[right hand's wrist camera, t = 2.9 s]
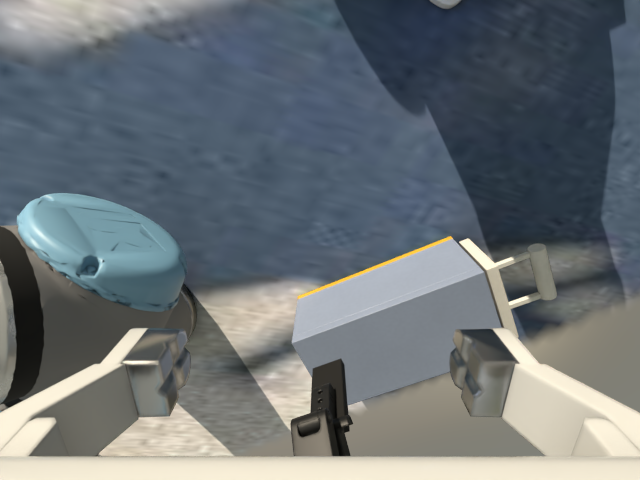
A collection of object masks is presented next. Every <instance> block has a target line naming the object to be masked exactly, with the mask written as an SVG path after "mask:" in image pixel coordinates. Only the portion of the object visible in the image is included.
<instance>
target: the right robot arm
mask: <svg viewBox="0 0 640 480" xmlns="http://www.w3.org/2000/svg"><path fill="white" fill-rule="evenodd" d="M429 1H431V2H432V3H433V4H435V5H437V6H438V7H440V8H443V9H450V8H452V7H454V6H455V5H457V4H458V3H459V2H460V1H462V0H429ZM187 341H188V340H187V335H186V331H185V330H184V329H169V328H133V329H130V330H129V331H128V332H127V334H126V335H125V336H124V337H123V338H122V339H121V340H120V342H119V343H118V344H117V345H116V346H115V347H114V348H113V350H112V351H111V352H110V353H109V354H108V355H107V357H106V358H105V359H104V360H103V361H102V362H101V363H100V364H94V365H92V366H90V367H88V368H86V369H84V370H82V371H80V372H78V373H76V374H74V375H72V376H70V377H68V378H66V379H64V380H62V381H61V382H59V383H57V384H55V385H53V386H51V387H49V388H47V389H45V390H43V391H41V392H39V393H37V394H35V395H33V396H31V397H29V398H28V399H26V400H24V401H22V402H20V403H18V404H16V405H14V406H12V407H10V408H8V409H6V410H4V411H2V412H0V480H640V413H639V412H637V411H636V410H634V409H632V408H630V407H628V406H626V405H624V404H622V403H620V402H618V401H616V400H614V399H612V398H610V397H608V396H607V395H605V394H603V393H601V392H599V391H597V390H595V389H593V388H591V387H589V386H587V385H585V384H583V383H581V382H579V381H577V380H576V379H574V378H572V377H570V376H568V375H566V374H564V373H562V372H560V371H558V370H556V369H554V368H552V367H550V366H548V365H546V364H540V363H539V362H538V361H537V360H536V359H535V358H534V356H533V355H532V354H531V353H530V352H529V351H528V350H527V348H526V347H525V346H524V345H523V344H522V343H521V342H520V340H519V339H518V338H517V337H516V336H515V335H514V334H513V332H512V331H511V330H510V329H507V328H489V329H456V330H455V332H454V335H453V340H452V341H453V343H454V344H455V346H456V348H455V349H454V350H453V351H452V352H451V353H450V360H449V366H450V373H451V377H452V380H453V382H454V384H455V385H456V386H457V387H458V388H460V389H461V390H462V395H461V398H462V400H463V402H464V404H465V406H466V408H467V410H468V412H469V414H470V416H478V417H502V420H504V421H505V422H506V423H507V424H508V425H509V426H511V427H512V428H513V429H514V430H515V431H516V432H518V433H519V434H520V435H521V436H522V437H523V438H525V439H526V440H527V441H528V442H529V443H530V444H532V445H533V446H534V447H535V448H536V449H538V450H539V451H540V452H541V453H542V454H543V455H544V456H96V455H97V454H98V453H99V452H100V451H102V450H103V449H104V448H105V447H106V446H107V445H109V444H110V443H111V442H112V441H113V440H114V439H116V438H117V437H118V436H119V435H120V434H121V433H123V432H124V431H125V430H126V429H127V428H128V427H130V426H131V425H132V424H133V423H134V422H135V421H137V420H138V417H163V416H170V414H171V412H172V410H173V408H174V406H175V404H176V402H177V400H178V398H179V395H178V390H179V389H180V388H182V387H183V386H184V385H185V384H186V382H187V380H188V377H189V373H190V368H191V358H190V353H189V352H188V351H187V350H186V349H185V348H184V346H185V344H186V343H187Z"/></svg>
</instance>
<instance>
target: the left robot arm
mask: <svg viewBox="0 0 640 480" xmlns="http://www.w3.org/2000/svg"><path fill="white" fill-rule="evenodd" d="M186 273H187V261H186V257H185V255H184V252H183V250H182V248H181V247H180V245H179V244H178V243H177V241H176V240H175V239H174V238H173V237H172V236H171V235H170V234H169V233H168V232H167V231H166V230H164V229H163V228H162V227H161V226H159V225H158V224H156V223H155V222H153V221H152V220H150V219H148V218H147V217H145V216H143V215H141V214H139V213H137V212H135V211H133V210H131V209H129V208H126V207H124V206H121V205H119V204H116V203H113V202H110V201H107V200H103V199H99V198H95V197H90V196H85V195H79V194H68V193H58V194H48V195H44V196H42V197H41V198H40V199H35V200H33V201H31V202H30V203H29V204H28V205H27V206H26V207H25V208H24V210H22V212H21V213H20V215H18V216H17V225H15V226H0V412H2V411H4V410H6V409H8V408H10V407H12V406H14V405H16V404H18V403H20V402H22V401H24V400H26V399H28V398H29V397H31V396H33V395H35V394H37V393H39V392H41V391H43V390H45V389H47V388H49V387H51V386H53V385H55V384H57V383H59V382H61V381H62V380H64V379H66V378H68V377H70V376H72V375H74V374H76V373H78V372H80V371H82V370H84V369H86V368H88V367H90V366H92V365H94V364H100V363H101V362H102V361H103V360H104V359H105V358H106V357H107V355H108V354H109V353H110V352H111V351H112V350H113V348H114V347H115V346H116V345H117V344H118V343H119V342H120V340H121V339H122V338H123V337H124V336H125V335H126V334H127V332H128V331H129V330H130V329H133V328H169V329H184V330H185V331H186V335H187V340H188V339H189V337H190V336H191V334H192V332H193V330H194V327H195V324H196V307H195V303H194V300H193V298H192V296H191V294H190V292H189V291H188V289H187V288H186V287H185V285H184V284H183V282H184V279H185V277H186ZM189 341H190V340H189ZM189 341H188V342H189ZM188 342H187V343H188ZM187 343H186V344H187ZM186 344H185V345H186ZM351 424H353V422H352V420H351V417H350V416H349V415H348V404H347V391H346V378H345V365H344V363H343V361H342V359H338V360H335V361H332V362H329V363H326V364H324V365H321V366H318V367H315V368H313V372H312V394H311V413H309V414H306V415H303V416H300V417H297V418H294V419H292V420H291V434H292V443H293V452H294V456H350V452H349V449H348V445H347V441H346V437H345V434H344V433H345V432H348V431H349V425H351ZM98 454H99V453H98ZM98 454H97V455H98ZM97 455H96V456H97Z"/></svg>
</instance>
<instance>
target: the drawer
mask: <svg viewBox="0 0 640 480" xmlns="http://www.w3.org/2000/svg"><path fill="white" fill-rule="evenodd" d="M459 244H460V247H461V248H462V249H463V250H464V251H465V252H466V253H467V254H468V255H469V256H470V257H471V258H472V260H473V261H474V262H475V263H476V264H477V265H478V266H479V267H480V268H481V269H482V270H483V271H484V273H485V276H486V279H487V282H488V285H489V289H490V292H491V295H492V298H493V301H494V305H495V308H496V311H497V314H498V317H499V321H500V324H501V327H502V328H507V329H510V330H511V331H512V332H513V334H514V335H515V336H516V337H517V338H518V333H517V330H516V326H515V323H514V320H513V316H512V313H511V309H512V308H515V307H518V306H521V305H524V304H527V303H529V302H532V301H535V300H538V299H543V300H553V299H555V298H556V297H557V292H556V288H555V284H554V280H553V275H552V271H551V267H550V262H549V258H548V254H547V250H546V246H545V245H544V244H539V243H538V244H533V245H530V246H529V247H528V248H527V250H528V252H527V251H526V252H524V253H521V254H518V255H516V256H513V257H510V258H508V259H505V260H502V261H499V262H497V263H494V262H493V261H492V260H491V259H490V258H489V257H488V256H486V255H485V254H484V253H483V252H482V251H481V250H480V249H479V248H478V247H477V246H476V245H475V244H474V243H473V242H472V241H470V240H469V239H465V240H463V241H460V242H459ZM528 258H530V262H531V266H532V270H533V274H534V278H535V282H536V286H537V290H538V292H536V293H533V294H530V295H527V296H525V297H522V298H519V299H516V300H513V301H510V302H508V299H507V296H506V293H505V289H504V286H503V282H502V279H501V276H500V272H499V269H501V268H504V267H507V266H509V265H512V264H515V263H517V262H520V261H523V260H525V259H528Z"/></svg>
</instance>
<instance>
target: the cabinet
mask: <svg viewBox="0 0 640 480" xmlns="http://www.w3.org/2000/svg"><path fill="white" fill-rule="evenodd" d="M297 300H298V301H297V308H296V315H295V323H294V330H293V337H292V344H293V346H294V348H295V350H296V351H297V353H298V355H299V356H300V358H301V360H302V361H303V363H304V365H305V366H306V368H307V370H308V372H309V373H310V375H311V377H312V372H313V368H315V367H318V366H321V365H324V364H326V363H329V362H332V361H335V360H338V359H342V361H343V363H344V365H345V378H346V391H347V404H348V405H350V404H353V403H356V402H360V401H363V400H366V399H369V398H372V397H375V396H378V395H381V394H384V393H387V392H390V391H393V390H396V389H399V388H402V387H405V386H408V385H411V384H414V383H417V382H421V381H424V380H427V379H430V378H433V377H436V376H439V375H442V374H445V373H448V372H450V366H449V360H450V353H451V352H452V351H453V350H454V349H455V348H456V346H455V344H454V343H453V341H452V340H453V335H454V332H455V330H456V329H489V328H502V327H501V324H500V321H499V317H498V314H497V311H496V308H495V305H494V301H493V298H492V295H491V292H490V289H489V285H488V282H487V279H486V276H485V273H484V271H483V270H482V269H481V268H480V267H479V266H478V265H477V264H476V263H475V262H474V261H473V260H472V258H471V257H470V256H469V255H468V254H467V253H466V252H465V251H464V250H463V249H462V248H461V247H460V246H459V245H458V244H457V243H456V242H455V241H454V239H453V238H452V237H451V236H450V237H447V238H445V239H442V240H440V241H437V242H435V243H432V244H430V245H427V246H425V247H422V248H420V249H417V250H414V251H412V252H409V253H407V254H404V255H402V256H399V257H397V258H394V259H392V260H389V261H387V262H384V263H381V264H379V265H376V266H374V267H371V268H369V269H366V270H364V271H361V272H359V273H356V274H354V275H351V276H349V277H346V278H343V279H341V280H338V281H336V282H333V283H331V284H328V285H326V286H323V287H321V288H318V289H316V290H313V291H310V292H308V293H305V294H303V295H300V296H298V299H297Z"/></svg>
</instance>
